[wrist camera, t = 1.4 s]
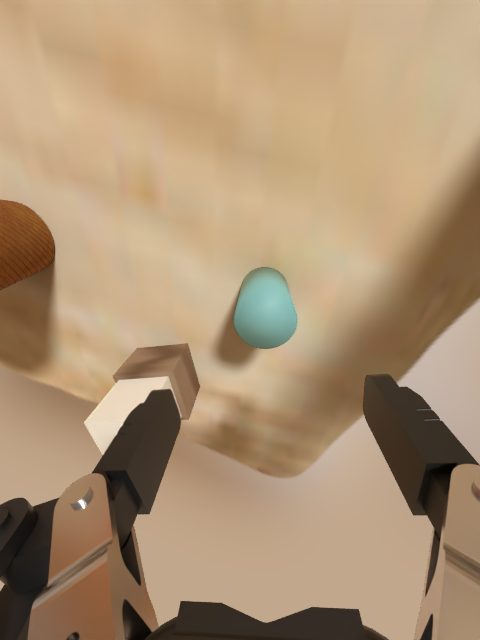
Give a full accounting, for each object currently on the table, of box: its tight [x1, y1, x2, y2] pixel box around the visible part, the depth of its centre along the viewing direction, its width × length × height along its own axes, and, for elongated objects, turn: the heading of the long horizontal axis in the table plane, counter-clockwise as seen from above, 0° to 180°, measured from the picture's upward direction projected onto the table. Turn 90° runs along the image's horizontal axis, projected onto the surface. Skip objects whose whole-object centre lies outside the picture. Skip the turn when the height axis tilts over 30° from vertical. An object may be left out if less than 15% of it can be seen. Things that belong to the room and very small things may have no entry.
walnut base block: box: [113, 344, 200, 420], centre depth 26 cm, size 6×6×5 cm
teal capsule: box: [234, 267, 297, 349], centre depth 20 cm, size 4×4×7 cm
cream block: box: [84, 376, 182, 455], centre depth 21 cm, size 5×5×5 cm
